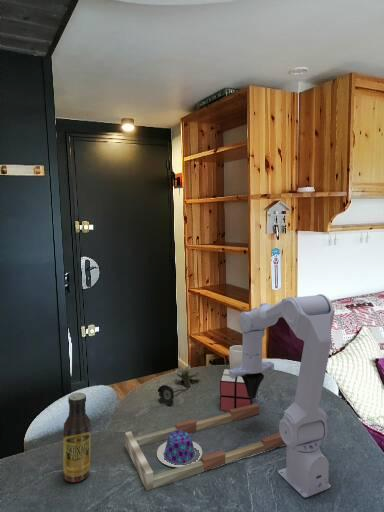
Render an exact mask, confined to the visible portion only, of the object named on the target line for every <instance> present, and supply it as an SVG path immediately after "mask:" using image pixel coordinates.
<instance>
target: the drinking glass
mask: <svg viewBox="0 0 384 512" xmlns="http://www.w3.org/2000/svg"><path fill="white" fill-rule="evenodd" d="M242 348H243V345H241V344H240V345H239V344H238V345H236V344H235V345H232V346H230V347H229V350H228V351H229V354H228V359H229V360H228V361H229V370H231V369H234V368H236V367H238V366H240V365H242Z"/></svg>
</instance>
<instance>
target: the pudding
mask: <svg viewBox="0 0 384 512" xmlns="http://www.w3.org/2000/svg"><path fill="white" fill-rule="evenodd" d="M192 439H193V438H192V436H191V435H190V433H187V432H183V431H175V432H173V433H172V434H170V435H169V437H168V439H166V441H165V442H164V443H162V444H160V445H159V447H158V448H157V450H156V456H157V459H158V460H159V462H161V463H162V464H164V465H166V466H168V467H172V468H179V467H182V466H185V465H174V464H175V463H176V464H181V463H184V464H185V462H187V461H188V460H190V461H192V460H193V459H194V458H195V456H194V455H196V452H195V450H194V448H196V449H197V450H199V453H200V456H199V458H198V460H196V462H198V461H201V457H202V456H203V449H202V447H201V446H200V445H199V444H198V442H196V441H193V440H192ZM193 454H194V455H193ZM193 457H194V458H193ZM164 458H165V459H167V461H168V462H167V461H166V460H164ZM192 458H193V459H192ZM191 459H192V460H191ZM169 462H170V463H169ZM171 462H172V463H173V464H171ZM178 462H179V463H178ZM188 462H189V461H188ZM188 462H187V463H188ZM192 463H195V462H192ZM192 463H191V464H192ZM187 465H188V464H187Z"/></svg>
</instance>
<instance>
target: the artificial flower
mask: <svg viewBox="0 0 384 512" xmlns="http://www.w3.org/2000/svg"><path fill="white" fill-rule="evenodd" d="M174 373H176V375H177V377H179V378H180V380H179V382H183V384H184V385H185V387H186V388H182V389H181V388H180V389H176V390H173V388H172V387H171V386H169V385H167V384H162V385H161V386H159V387H158V389H157V393H158V397H159V399H158V397H157V400H158V402H159V403H160V405H162V404H164V405H165V406H169V405H173V403H174V399H175V398H174V397H175V393H177V392H180V391H181V392H182V391H184V392H185V391H187V390H188V389H189V387H190V386H191V380H190V379H192V378H196V377H198V376H199V375H201V372H195V373H193V374H190V373H191V366H190V364H187V366H186V367H185V368H184V367H182V368H176V369H175V371H174Z"/></svg>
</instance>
